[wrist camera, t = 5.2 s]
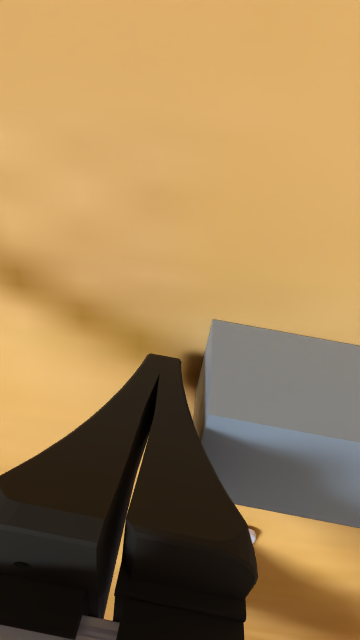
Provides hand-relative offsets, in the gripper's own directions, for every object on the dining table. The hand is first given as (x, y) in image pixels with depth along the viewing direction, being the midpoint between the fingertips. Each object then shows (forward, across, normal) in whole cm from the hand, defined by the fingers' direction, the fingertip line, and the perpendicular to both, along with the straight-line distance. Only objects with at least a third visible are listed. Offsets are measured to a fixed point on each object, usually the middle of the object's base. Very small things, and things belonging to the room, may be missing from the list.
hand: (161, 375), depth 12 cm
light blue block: (+2, -6, 0) cm, 6 cm away
